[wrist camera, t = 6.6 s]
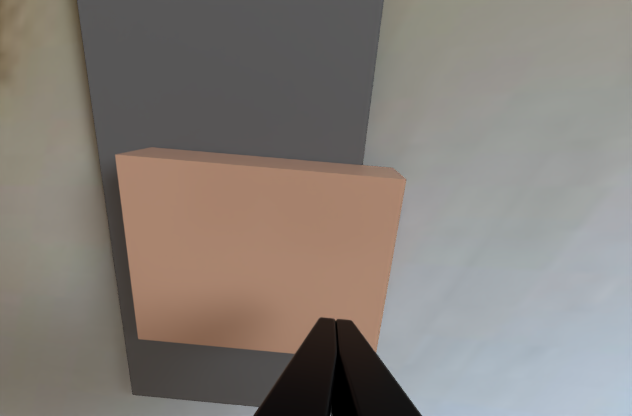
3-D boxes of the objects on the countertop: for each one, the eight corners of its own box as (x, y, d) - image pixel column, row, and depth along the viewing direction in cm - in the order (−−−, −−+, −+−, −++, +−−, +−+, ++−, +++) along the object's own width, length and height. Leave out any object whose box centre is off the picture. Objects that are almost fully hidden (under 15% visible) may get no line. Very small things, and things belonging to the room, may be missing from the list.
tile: (374, 361, 11) (138, 339, 11) (367, 323, 13) (166, 305, 13) (406, 179, 9) (115, 154, 9) (392, 167, 11) (152, 146, 11)
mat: (330, 402, 16) (330, 413, 15) (139, 384, 16) (132, 394, 15) (381, -1, 10) (384, -8, 10) (86, -24, 10) (72, -32, 10)
